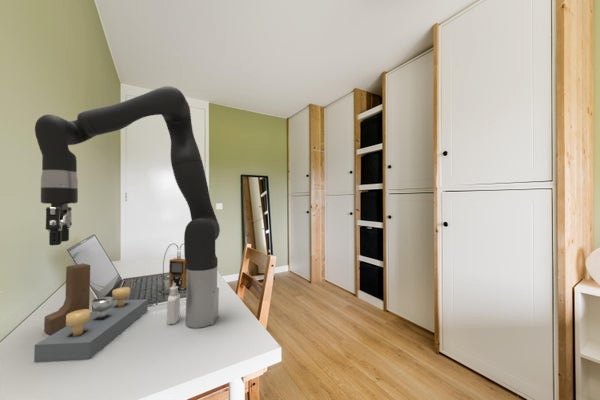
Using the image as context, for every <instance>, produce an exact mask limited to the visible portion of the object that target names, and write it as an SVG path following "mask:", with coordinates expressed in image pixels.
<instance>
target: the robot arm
mask: <svg viewBox="0 0 600 400" xmlns="http://www.w3.org/2000/svg"><path fill="white" fill-rule="evenodd" d="M189 105H190V104H189V102H188V101H187V99H186V97H185V95H184V93H183V92H182V91H180V89H179V88H177V87H174V86H172V85H171V86H169V85H166V86H165V85H164V86H161V87H158V88H156V89H153V90H150V91H148V92H146V93H144V94H140V95H138V96H135V97H133V98H130V99H127V100H125V101H122V102H118V103H116V104H115V103H114V104H112V105H107V106H103V107H99V108H93V109H88V110H84V111H81V112H80V113H78V114H77V118H76V119H75V120H71V121H70V120H69V121H68V120H67V119H64V118H62V117H60V116H58V115H55V114H44V115H42V116H40V117H38V119H37V120H36V122H35V125H34V133H35V137H36V140H37V144H38V147H39V150H40V152H41V157H42V163H41V165H42V168H41V170H42V171H41V176H40V203H41V204H44V205H45V204H48V205H49V204H50V207H49V206H48V207H46V208H45V213H46V214H45V227H44V228H45V229H46V230H47V231H48V232H49V233H48V235H49V237H48V238H49V239H48V240H49V243H48V245H49V246H59V245H61V244H62V243H63V242H68V241H70V228H71V226H72V225H73V223H72V210H73V209H72V207H71V206H69V205H70V204H77V203H78V201H79V200H78V198H79V197H78V194H79V193H78V192H79V190H78V189H79V186H78V184H79V182H78V175H77V174H78V173H77V165H78V164H77V156H76V154H75V153H73V152H71V151H70V149H69V146H75V145H78V144H82V143H84V142H87V141H89V140H90V139H92V138H95V137H97V136H100V135H103V134H108V133H111V132H112V133H113V132H117V131H120V130H122V129H124V128H126V127H129V126H130V125H131V124H133V123H135V122H136V121H138V120H141V119H143V118H146V117H151V116H159V115H161V116H162V117H163V120H164V122H165V124H166V127H167V130H168V134H169V138H170V162H171V168H172V171H173V176H174V179H175V182H176V184H177V187H178V189H179V191H180V192H181V195H182V196H183V197H184V200H185V201H186V203H187V206H188V208H189V209H188V210H189V213H190V218H191V220H190V221H189V222H188V223H187V225H186V226H185V230H184V238H183V245H184V246H183V247H184V249H183V250H184V252H183V253H184V259H185V261H186V264H187V274H186V289H185V325H186V326H187V327H189V328H191V329H192V328H193V329H194V328H195V329H200V328H203V327H204V328H205V327H207V326H212V325H214V326H215V323H216V321H217V319H218V317H219V306H220V305H219V299H220V297H219V295H220V288H219V287H218V261H219V260H218V257H217V254H216V240H217V239H219V238H218V237H219V236H220V232H221V228H220V224H219V222H218V219H217V216H216V214H215V211H214V208H213V205H212V201H211V197H210V191H209V186H208V182H207V181H208V180H207V177H206V172H205V167H204V163H203V160H202V156H201V153H200V149H199V145H197V142H196V138H195V136H194V130H193V125H192V116H191V109H190V106H189Z"/></svg>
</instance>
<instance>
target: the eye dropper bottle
mask: <svg viewBox="0 0 600 400" xmlns="http://www.w3.org/2000/svg"><path fill="white" fill-rule="evenodd" d="M178 291H179V290H178V286H176V283H173V286H172V287H171V288H170V289H169V292H170V293H169V294H168V297H167V304H166V309H167V310H166V324H167V325H175V324H177V323H178V322H179V321H180V318H181V317H180V316H181V295H180V293H179V292H178Z"/></svg>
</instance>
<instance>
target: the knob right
mask: <svg viewBox="0 0 600 400" xmlns="http://www.w3.org/2000/svg"><path fill="white" fill-rule="evenodd" d="M111 293H112V296H111V297H112V298H113V300H117V307H124V306H125V300H126V299H127V298H129V297H130V296H131V288H130V287H129V286H122V287H117V288H115V289H113V290H112V292H111Z"/></svg>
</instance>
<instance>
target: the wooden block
mask: <svg viewBox="0 0 600 400" xmlns="http://www.w3.org/2000/svg"><path fill="white" fill-rule="evenodd" d="M65 269H66V272H65V275H66V276H65V299H64V302H63V305H62V306H61V307H60V308H58V310H56V311H53V312H52V313H50V314H47V315H45V316H44V321H43V322H44V323H43V324H44V325H43V326H44V328H43V331H44V332H45V333H46V334H48V335H49V336H51V335H52V334H54V333H56V332H58V331H59V330H61V329H63V328H64V327H66V315H67V314H69V313H71V312H73V311H77V310H82V309H90V294H91V293H90V292H91V291H90V290H91V288H90V287H91V265H90V264H88V263H79V264H73V265H67V266H66V268H65Z"/></svg>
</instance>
